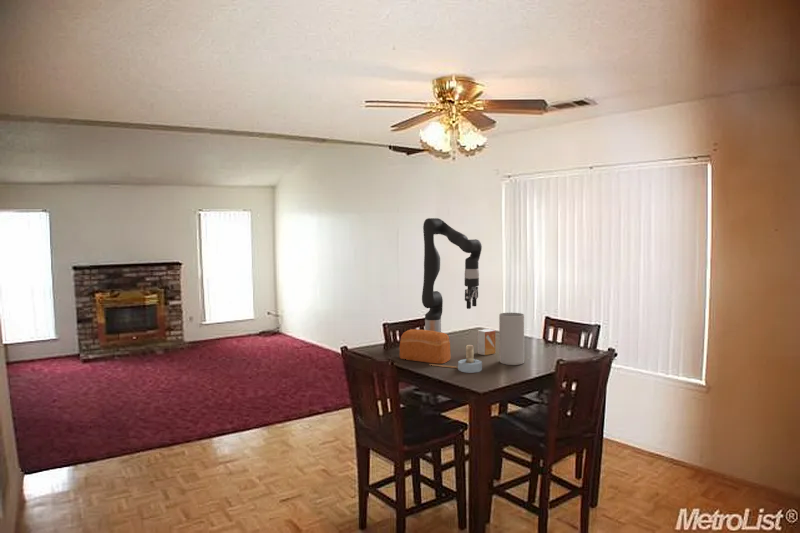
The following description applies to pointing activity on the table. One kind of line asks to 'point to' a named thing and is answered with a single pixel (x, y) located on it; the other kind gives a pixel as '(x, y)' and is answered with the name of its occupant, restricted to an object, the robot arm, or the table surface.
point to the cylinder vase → (511, 338)
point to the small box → (486, 341)
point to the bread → (425, 346)
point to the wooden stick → (443, 366)
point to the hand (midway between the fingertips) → (471, 307)
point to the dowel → (469, 354)
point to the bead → (469, 366)
